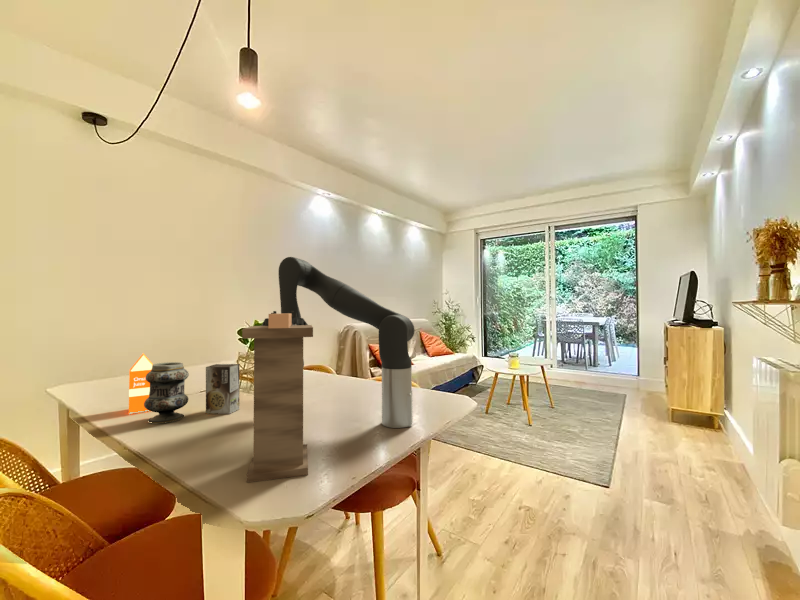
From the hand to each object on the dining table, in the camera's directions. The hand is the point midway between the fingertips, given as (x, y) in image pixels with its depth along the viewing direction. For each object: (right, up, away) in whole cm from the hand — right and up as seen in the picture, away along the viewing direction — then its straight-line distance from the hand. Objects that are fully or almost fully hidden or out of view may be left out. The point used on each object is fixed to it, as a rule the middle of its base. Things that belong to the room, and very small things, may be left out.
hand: (283, 314), depth 94 cm
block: (+2, -3, -7) cm, 8 cm away
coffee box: (-31, -35, +30) cm, 56 cm away
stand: (+3, -33, -13) cm, 36 cm away
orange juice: (-61, -36, +33) cm, 78 cm away
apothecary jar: (-45, -35, +21) cm, 61 cm away
